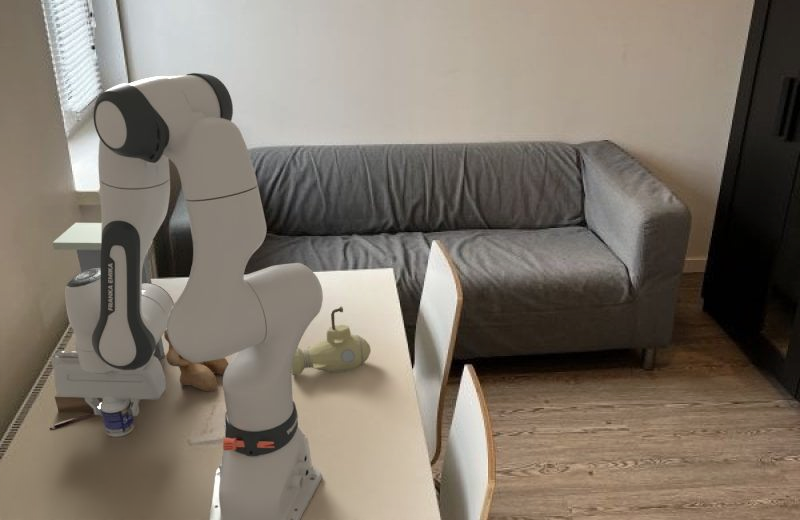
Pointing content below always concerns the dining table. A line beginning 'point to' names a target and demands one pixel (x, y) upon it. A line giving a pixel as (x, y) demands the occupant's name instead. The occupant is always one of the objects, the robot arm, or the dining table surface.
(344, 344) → the toy
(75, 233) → the grey pedestal stand
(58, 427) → the pen
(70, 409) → the socket block
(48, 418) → the dining table surface
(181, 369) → the figurine
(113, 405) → the pill bottle
